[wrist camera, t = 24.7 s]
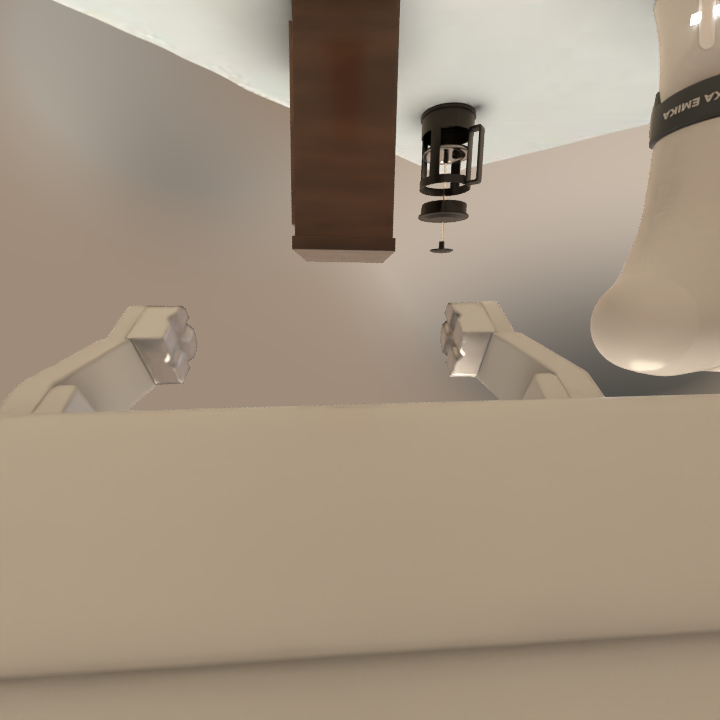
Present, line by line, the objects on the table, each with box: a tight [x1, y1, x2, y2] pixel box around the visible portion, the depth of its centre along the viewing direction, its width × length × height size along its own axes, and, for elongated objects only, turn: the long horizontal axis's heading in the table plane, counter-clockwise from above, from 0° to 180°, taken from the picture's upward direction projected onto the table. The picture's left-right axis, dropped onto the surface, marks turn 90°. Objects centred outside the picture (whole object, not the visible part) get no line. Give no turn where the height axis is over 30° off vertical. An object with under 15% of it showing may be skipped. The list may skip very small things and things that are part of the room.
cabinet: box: [289, 0, 400, 263], centre depth 47 cm, size 15×13×26 cm
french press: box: [418, 103, 485, 253], centre depth 65 cm, size 12×9×23 cm
